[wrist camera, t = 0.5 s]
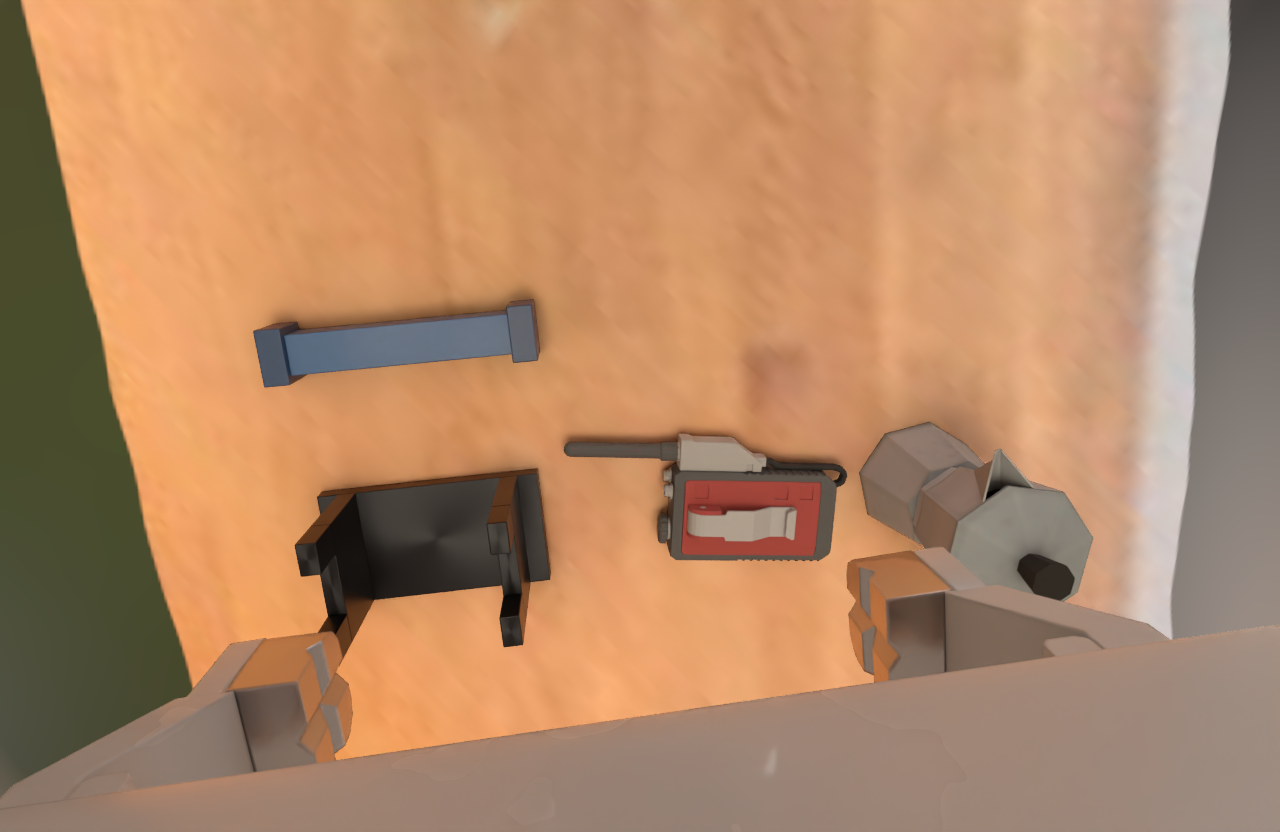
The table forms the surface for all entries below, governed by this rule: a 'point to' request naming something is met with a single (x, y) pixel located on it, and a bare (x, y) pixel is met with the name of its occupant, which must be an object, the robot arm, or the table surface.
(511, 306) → the handle
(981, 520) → the coffee maker
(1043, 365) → the table surface
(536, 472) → the holder
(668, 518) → the walkie-talkie
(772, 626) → the table surface
